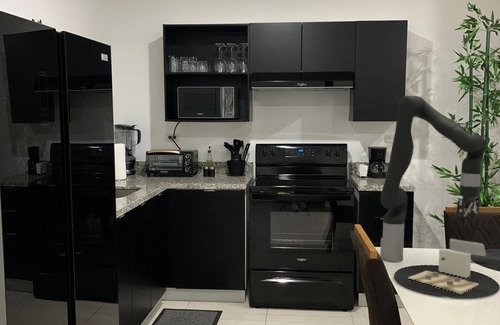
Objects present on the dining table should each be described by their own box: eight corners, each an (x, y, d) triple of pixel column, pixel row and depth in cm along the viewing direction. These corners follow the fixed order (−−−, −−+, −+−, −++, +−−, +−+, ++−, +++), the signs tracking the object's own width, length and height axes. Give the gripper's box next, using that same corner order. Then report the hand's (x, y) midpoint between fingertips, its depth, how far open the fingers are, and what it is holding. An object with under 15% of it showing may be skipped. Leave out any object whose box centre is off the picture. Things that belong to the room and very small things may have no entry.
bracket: (449, 261, 230) (485, 264, 223) (449, 240, 229) (485, 242, 222) (450, 258, 234) (486, 262, 226) (450, 238, 233) (486, 240, 226)
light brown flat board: (408, 279, 202) (408, 273, 201) (426, 272, 211) (426, 267, 211) (461, 294, 185) (461, 287, 185) (478, 286, 194) (478, 279, 194)
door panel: (437, 273, 211) (438, 249, 210) (442, 271, 213) (442, 248, 213) (465, 280, 202) (466, 255, 201) (469, 278, 204) (470, 254, 204)
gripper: (469, 181, 209) (466, 220, 211) (452, 184, 199) (449, 224, 201) (487, 184, 203) (484, 223, 205) (470, 187, 194) (468, 228, 196)
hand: (467, 224), depth 203 cm, fingers open, 8 cm apart
